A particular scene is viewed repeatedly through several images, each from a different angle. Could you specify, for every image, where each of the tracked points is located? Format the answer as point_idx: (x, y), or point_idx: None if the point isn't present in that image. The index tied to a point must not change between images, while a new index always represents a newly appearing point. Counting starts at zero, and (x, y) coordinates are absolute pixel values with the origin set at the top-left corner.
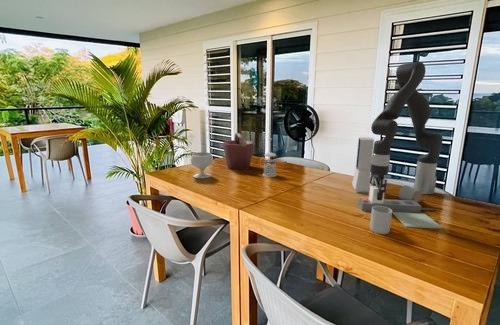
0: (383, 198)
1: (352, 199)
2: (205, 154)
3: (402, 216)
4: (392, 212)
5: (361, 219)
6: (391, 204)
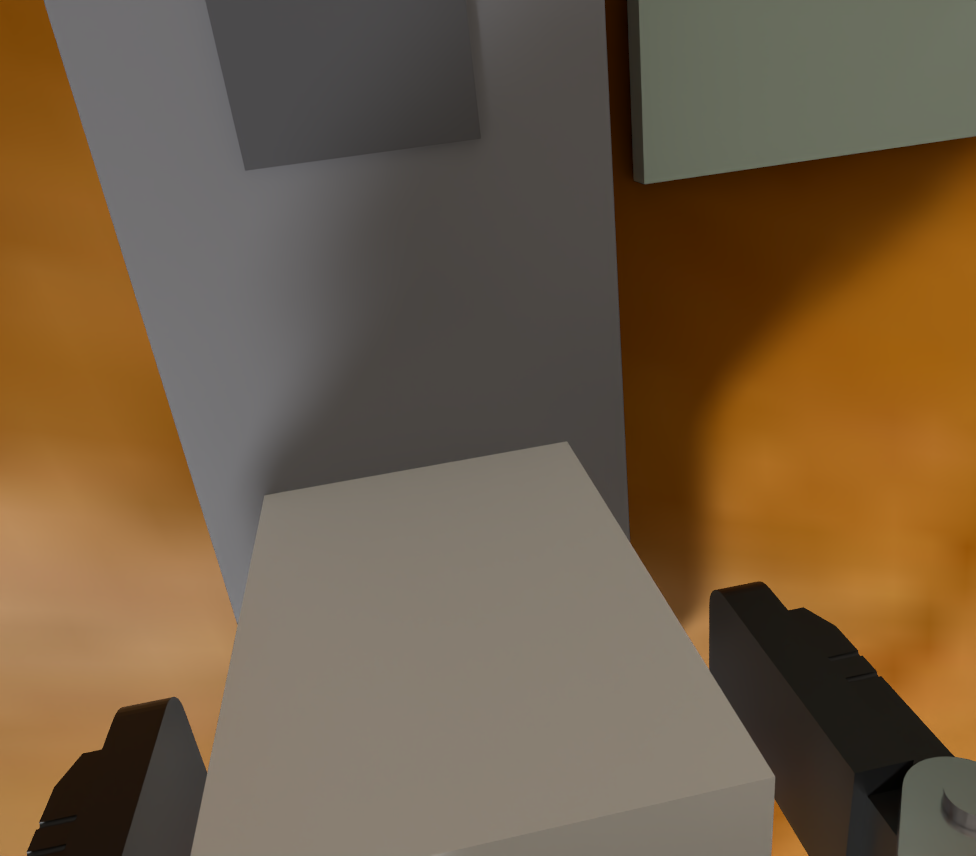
0: (617, 527)
1: (6, 849)
2: None
3: (892, 3)
4: (651, 182)
5: (932, 714)
6: (591, 225)
